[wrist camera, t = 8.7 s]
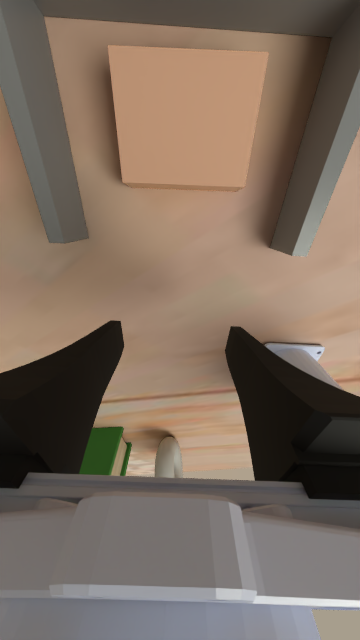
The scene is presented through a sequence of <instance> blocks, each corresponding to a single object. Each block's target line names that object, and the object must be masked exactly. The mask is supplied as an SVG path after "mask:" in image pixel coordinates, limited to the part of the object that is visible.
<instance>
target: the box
mask: <svg viewBox="0 0 360 640" xmlns="http://www.w3.org/2000/svg"><path fill="white" fill-rule="evenodd" d="M44 16H51V17H64V18H78V19H91V20H105V21H118V22H132V23H145V24H159V25H173V26H186V27H200V28H213V29H227V30H240V31H254V32H267V33H281V34H294V35H308V36H321V37H332V39H331V43H330V46H329V50H328V53H327V56H326V60H325V63H324V67H323V70H322V73H321V77H320V80H319V84H318V87H317V90H316V94H315V97H314V100H313V104H312V107H311V111H310V114H309V117H308V121H307V124H306V128H305V131H304V134H303V138H302V141H301V144H300V148H299V151H298V155H297V158H296V161H295V165H294V168H293V172H292V175H291V178H290V182H289V185H288V189H287V192H286V195H285V199H284V202H283V205H282V209H281V212H280V216H279V219H278V222H277V226H276V229H275V233H274V236H273V239H272V243H271V246H270V248H271V249H274V250H277V251H280V252H283V253H286V254H289V255H291V256H307V255H308V252H309V250H310V247H311V245H312V242H313V240H314V237H315V235H316V232H317V230H318V227H319V225H320V223H321V220H322V218H323V215H324V213H325V210H326V208H327V205H328V203H329V200H330V198H331V196H332V193H333V191H334V188H335V186H336V183H337V181H338V178H339V176H340V173H341V171H342V168H343V166H344V164H345V161H346V159H347V156H348V154H349V151H350V149H351V146H352V144H353V141H354V139H355V137H356V134H357V132H358V129H359V127H360V0H0V87H1V90H2V93H3V96H4V99H5V103H6V106H7V109H8V112H9V115H10V119H11V122H12V125H13V128H14V131H15V135H16V138H17V141H18V144H19V147H20V151H21V154H22V157H23V160H24V163H25V167H26V170H27V173H28V176H29V179H30V183H31V186H32V189H33V192H34V195H35V199H36V202H37V205H38V208H39V211H40V215H41V218H42V221H43V224H44V227H45V231H46V234H47V237H48V240H49V243H69V242H73V241H78V240H83V239H87V238H89V237H88V232H87V228H86V223H85V218H84V213H83V208H82V203H81V198H80V193H79V188H78V183H77V178H76V173H75V168H74V163H73V158H72V153H71V148H70V144H69V139H68V134H67V129H66V124H65V119H64V114H63V109H62V104H61V99H60V94H59V89H58V84H57V79H56V74H55V69H54V64H53V60H52V55H51V50H50V45H49V40H48V35H47V30H46V25H45V20H44Z"/></svg>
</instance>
